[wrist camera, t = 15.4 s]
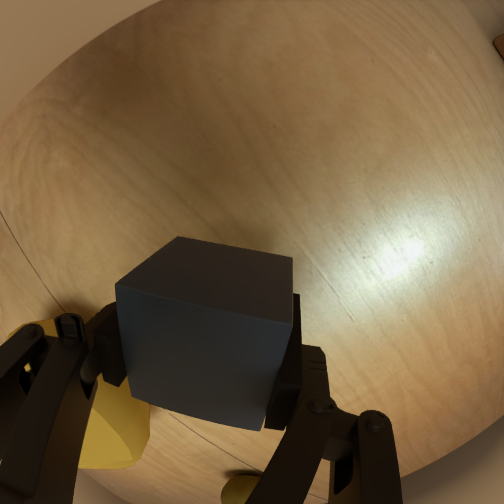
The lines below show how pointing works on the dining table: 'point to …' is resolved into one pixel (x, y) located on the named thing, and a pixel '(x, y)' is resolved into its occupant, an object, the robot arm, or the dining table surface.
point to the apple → (238, 489)
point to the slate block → (206, 329)
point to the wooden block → (500, 44)
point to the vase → (110, 422)
